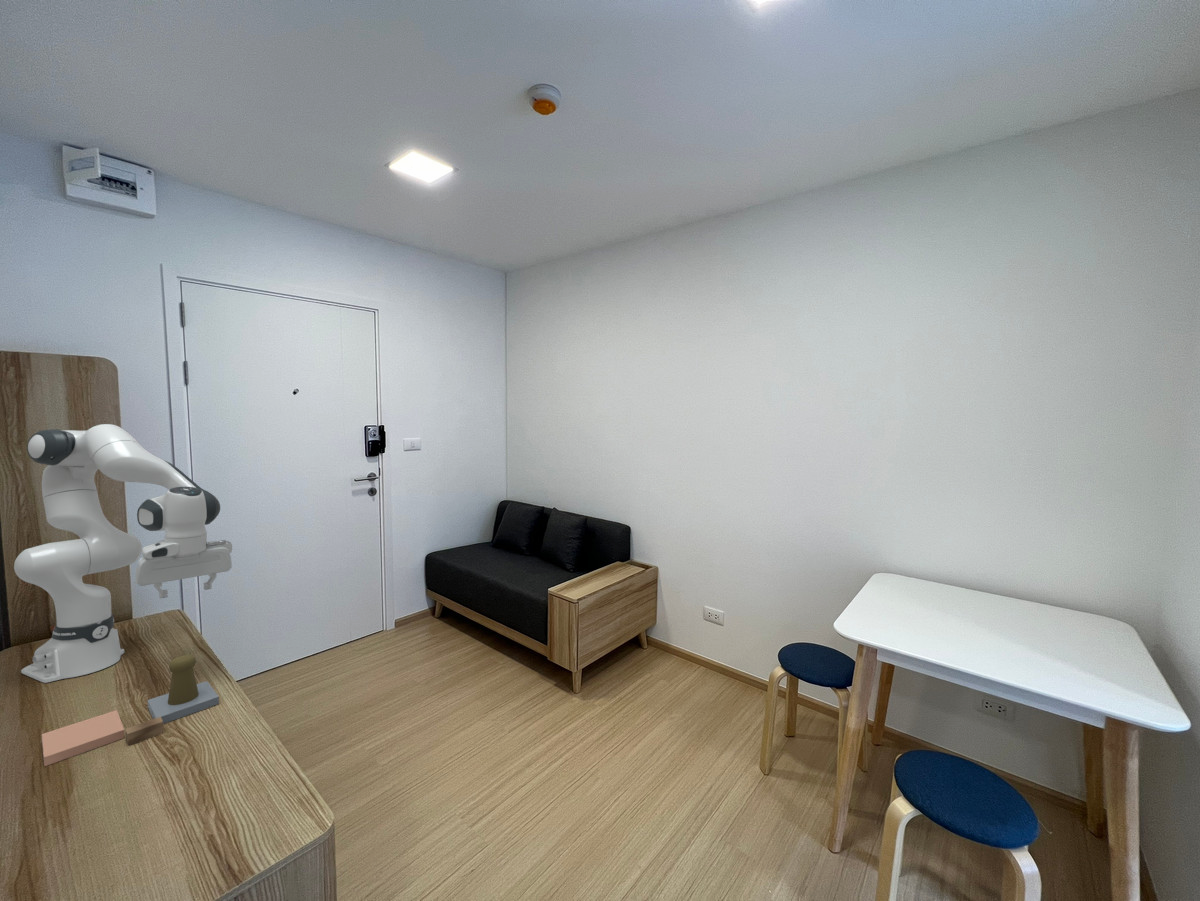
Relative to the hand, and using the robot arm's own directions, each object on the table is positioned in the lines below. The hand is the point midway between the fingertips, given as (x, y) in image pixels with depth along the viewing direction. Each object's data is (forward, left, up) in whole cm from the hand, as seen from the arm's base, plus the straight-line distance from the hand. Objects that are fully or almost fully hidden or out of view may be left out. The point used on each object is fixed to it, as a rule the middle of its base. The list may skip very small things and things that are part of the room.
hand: (186, 593), depth 131 cm
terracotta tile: (+2, -25, -26) cm, 36 cm away
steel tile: (+11, -9, -26) cm, 30 cm away
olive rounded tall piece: (+11, -10, -24) cm, 28 cm away
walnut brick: (+15, -21, -26) cm, 37 cm away
